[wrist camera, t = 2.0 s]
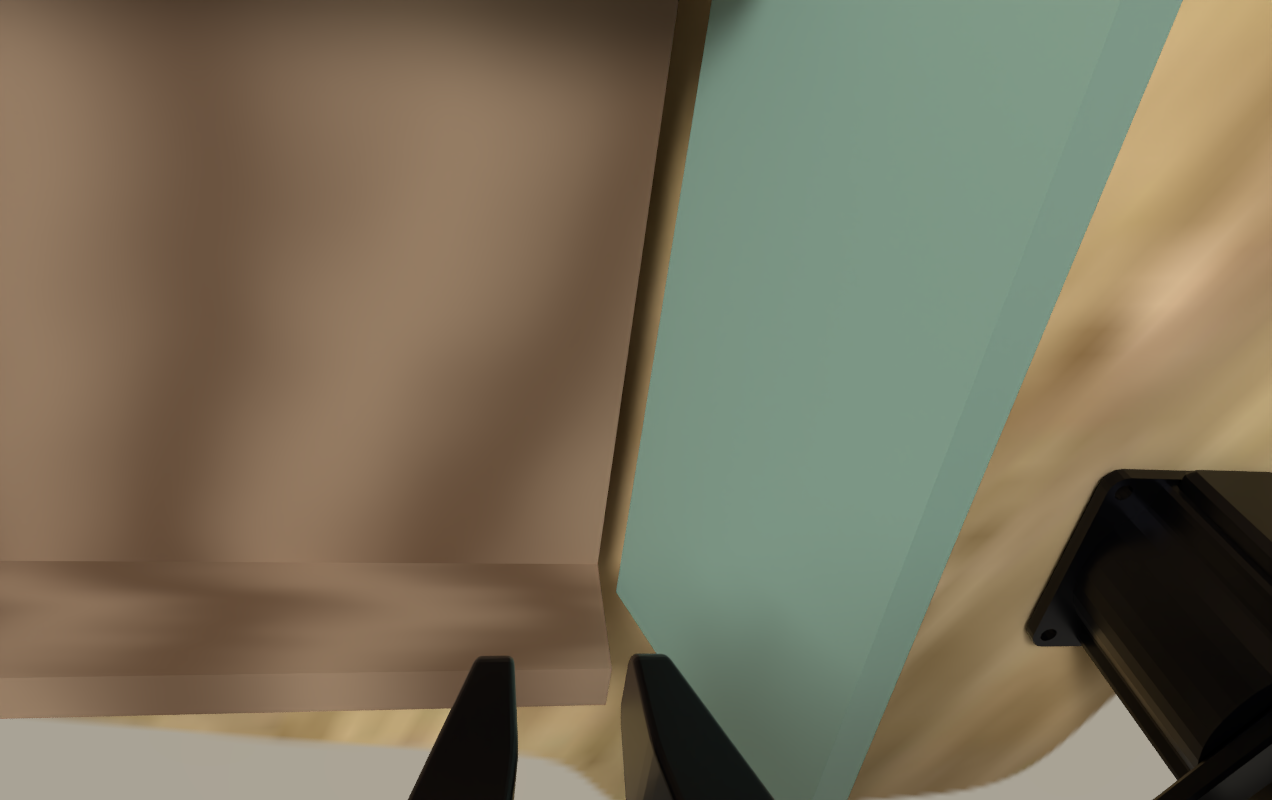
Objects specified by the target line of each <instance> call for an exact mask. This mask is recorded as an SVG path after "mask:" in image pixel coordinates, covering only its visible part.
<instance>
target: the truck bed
mask: <svg viewBox="0 0 1272 800" xmlns="http://www.w3.org/2000/svg"><path fill="white" fill-rule="evenodd" d="M678 2H679V0H0V719H7V718H50V717H93V716H137V715H180V714H223V713H267V712H310V711H353V710H397V709H440V708H452V706H453V704H454V702H455V700H456V698H457V696H458V694H459V691H460V689H461V687H462V685H463V683H464V681H465V679H466V677H467V675H468V673H469V670H470V668H471V666H472V664H473V662H474V661H475V660H476V658H478V657H479V656H505V655H507V656H510V657H512V658H513V660H514V664H515V684H516V707H527V706H570V705H606V701H607V695H608V689H609V683H610V677H611V671H612V665H611V658H610V651H609V644H608V636H607V629H606V622H605V615H604V607H603V600H602V593H601V586H600V578H599V571H598V558H599V551H600V544H601V537H602V530H603V523H604V516H605V509H606V502H607V495H608V488H609V481H610V474H611V467H612V460H613V453H614V446H615V439H616V432H617V426H618V419H619V412H620V405H621V398H622V391H623V384H624V377H625V370H626V363H627V356H628V349H629V342H630V335H631V328H632V321H633V314H634V307H635V300H636V293H637V287H638V280H639V273H640V266H641V259H642V252H643V245H644V238H645V231H646V224H647V217H648V210H649V203H650V196H651V189H652V182H653V175H654V168H655V161H656V154H657V148H658V141H659V134H660V127H661V120H662V113H663V106H664V99H665V92H666V85H667V78H668V71H669V64H670V57H671V50H672V43H673V36H674V29H675V22H676V16H677V9H678Z"/></svg>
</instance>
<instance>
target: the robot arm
mask: <svg viewBox="0 0 1272 800" xmlns="http://www.w3.org/2000/svg"><path fill="white" fill-rule="evenodd" d="M1026 631H1027V634H1028V635H1029V637H1030V638H1031V640H1032V641H1033V643H1034V644H1036V645H1037V646H1083V648H1084V649H1085V651H1086V652H1087V653H1088V655H1089V656H1090V658H1091V659H1092V661H1093V662H1094V663H1095V665H1096V666H1097V668H1098V669H1099V670H1100V672H1101V673H1102V675H1103V676H1104V677H1105V679H1106V680H1107V682H1108V683H1109V685H1110V686H1111V687H1112V689H1113V690H1114V692H1115V693H1116V694H1117V696H1118V697H1119V699H1120V700H1121V701H1122V703H1123V704H1124V705H1125V707H1126V708H1127V710H1128V711H1129V713H1130V714H1131V716H1132V717H1133V718H1134V720H1135V721H1136V723H1137V724H1138V725H1139V727H1140V728H1141V730H1142V731H1143V733H1144V734H1145V735H1146V737H1147V738H1148V740H1149V741H1150V742H1151V744H1152V745H1153V746H1154V748H1155V749H1156V751H1157V752H1158V753H1159V755H1160V756H1161V758H1162V759H1163V761H1164V762H1165V764H1166V765H1167V766H1168V768H1169V769H1170V771H1171V772H1172V773H1173V775H1174V776H1175V778H1176V779H1177V781H1176V782H1175V783H1174V784H1173V785H1171V786H1170V787H1169V788H1167V789H1166V790H1165V791H1163V792H1162V793H1161V794H1160V795H1158V796H1157V797H1156V798H1155V799H1153V800H1272V473H1271V472H1246V471H1211V470H1196V471H1172V470H1136V469H1121V470H1115V471H1113V472H1111V473H1109V474H1108V475H1106V476H1105V477H1104V478H1103V479H1102V480H1101V482H1100V483H1099V485H1098V487H1097V489H1096V491H1095V493H1094V495H1093V497H1092V499H1091V501H1090V503H1089V505H1088V507H1087V509H1086V510H1085V512H1084V514H1083V516H1082V518H1081V520H1080V522H1079V524H1078V526H1077V528H1076V530H1075V532H1074V534H1073V536H1072V538H1071V540H1070V542H1069V544H1068V546H1067V548H1066V550H1065V552H1064V554H1063V556H1062V558H1061V560H1060V562H1059V564H1058V566H1057V568H1056V570H1055V571H1054V573H1053V575H1052V577H1051V579H1050V581H1049V583H1048V585H1047V587H1046V589H1045V591H1044V593H1043V595H1042V597H1041V599H1040V601H1039V603H1038V605H1037V607H1036V609H1035V611H1034V613H1033V615H1032V617H1031V619H1030V621H1029V623H1028V625H1027V628H1026ZM621 732H622V747H623V762H624V776H625V791H626V800H775V799H774V798H773V797H772V795H771V794H770V793H769V791H768V790H767V788H766V787H765V786H764V784H763V783H762V782H761V780H760V779H759V778H758V776H757V775H756V774H755V772H754V771H753V770H752V768H751V767H750V765H749V764H748V763H747V761H746V760H745V759H744V757H743V756H742V755H741V753H740V752H739V751H738V749H737V748H736V747H735V745H734V744H733V742H732V741H731V740H730V738H729V737H728V736H727V734H726V733H725V732H724V730H723V729H722V728H721V726H720V725H719V724H718V722H717V721H716V719H715V718H714V717H713V715H712V714H711V713H710V711H709V710H708V709H707V707H706V706H705V705H704V703H703V702H702V701H701V699H700V698H699V696H698V695H697V694H696V692H695V691H694V690H693V688H692V687H691V686H690V684H689V683H688V682H687V680H686V679H685V678H684V676H683V675H682V673H681V672H680V671H679V669H678V668H677V667H676V665H675V664H674V663H673V661H672V660H671V659H670V658H669V657H668V656H667V655H665V654H635V655H633V656H632V657H631V658H630V660H629V664H628V669H627V674H626V680H625V685H624V691H623V696H622V702H621ZM517 761H518V730H517V707H516V684H515V664H514V660H513V658H512V657H510V656H507V655H505V656H479V657H478V658H476V660H475V661H474V662H473V664H472V666H471V668H470V670H469V673H468V675H467V677H466V679H465V681H464V683H463V685H462V687H461V689H460V691H459V694H458V696H457V698H456V700H455V702H454V704H453V706H452V708H451V710H450V712H449V715H448V717H447V719H446V721H445V723H444V725H443V727H442V729H441V731H440V733H439V736H438V738H437V740H436V742H435V744H434V746H433V748H432V750H431V752H430V754H429V757H428V759H427V761H426V763H425V765H424V767H423V769H422V772H421V774H420V775H419V778H418V780H417V782H416V784H415V786H414V788H413V790H412V792H411V794H410V796H409V799H408V800H514V793H515V782H516V772H517Z"/></svg>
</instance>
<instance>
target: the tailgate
mask: <svg viewBox="0 0 1272 800" xmlns="http://www.w3.org/2000/svg"><path fill="white" fill-rule="evenodd" d="M1182 1H1183V0H712V3H711V9H710V15H709V21H708V28H707V34H706V40H705V46H704V52H703V58H702V65H701V71H700V77H699V83H698V89H697V95H696V102H695V108H694V114H693V120H692V126H691V133H690V139H689V145H688V151H687V157H686V163H685V170H684V176H683V182H682V188H681V194H680V200H679V207H678V213H677V219H676V225H675V231H674V237H673V244H672V250H671V256H670V262H669V268H668V274H667V281H666V287H665V293H664V299H663V305H662V311H661V318H660V324H659V330H658V336H657V342H656V348H655V355H654V361H653V367H652V373H651V379H650V385H649V392H648V398H647V404H646V410H645V416H644V422H643V429H642V435H641V441H640V447H639V453H638V460H637V466H636V472H635V478H634V484H633V490H632V497H631V503H630V509H629V515H628V521H627V527H626V534H625V540H624V546H623V552H622V558H621V564H620V571H619V577H618V583H617V589H616V593H617V594H618V596H619V597H620V599H621V600H622V602H623V603H624V605H625V606H626V608H627V609H628V611H629V612H630V614H631V615H632V617H633V619H634V620H635V622H636V623H637V625H638V626H639V628H640V629H641V631H642V632H643V634H644V635H645V637H646V638H647V640H648V641H649V643H650V644H651V646H652V647H653V649H654V651H655V652H656V654H665V655H667V656H668V657H669V658H670V659H671V660H672V661H673V663H674V664H675V665H676V667H677V668H678V669H679V671H680V672H681V673H682V675H683V676H684V678H685V679H686V680H687V682H688V683H689V684H690V686H691V687H692V688H693V690H694V691H695V692H696V694H697V695H698V696H699V698H700V699H701V701H702V702H703V703H704V705H705V706H706V707H707V709H708V710H709V711H710V713H711V714H712V715H713V717H714V718H715V719H716V721H717V722H718V724H719V725H720V726H721V728H722V729H723V730H724V732H725V733H726V734H727V736H728V737H729V738H730V740H731V741H732V742H733V744H734V745H735V747H736V748H737V749H738V751H739V752H740V753H741V755H742V756H743V757H744V759H745V760H746V761H747V763H748V764H749V765H750V767H751V768H752V770H753V771H754V772H755V774H756V775H757V776H758V778H759V779H760V780H761V782H762V783H763V784H764V786H765V787H766V788H767V790H768V791H769V793H770V794H771V795H772V797H773V798H774V799H775V800H847V799H848V797H849V794H850V792H851V790H852V787H853V785H854V782H855V780H856V778H857V775H858V773H859V771H860V768H861V766H862V763H863V761H864V759H865V756H866V754H867V751H868V749H869V747H870V744H871V742H872V740H873V737H874V735H875V732H876V730H877V728H878V725H879V723H880V720H881V718H882V716H883V713H884V711H885V709H886V706H887V704H888V701H889V699H890V697H891V694H892V692H893V690H894V687H895V685H896V682H897V680H898V678H899V675H900V673H901V670H902V668H903V666H904V663H905V661H906V659H907V656H908V654H909V651H910V649H911V647H912V644H913V642H914V639H915V637H916V635H917V632H918V630H919V628H920V625H921V623H922V620H923V618H924V616H925V613H926V611H927V608H928V606H929V604H930V601H931V599H932V597H933V594H934V592H935V589H936V587H937V585H938V582H939V580H940V578H941V575H942V573H943V570H944V568H945V566H946V563H947V561H948V558H949V556H950V554H951V551H952V549H953V547H954V544H955V542H956V539H957V537H958V535H959V532H960V530H961V527H962V525H963V523H964V520H965V518H966V516H967V513H968V511H969V508H970V506H971V504H972V501H973V499H974V496H975V494H976V492H977V489H978V487H979V485H980V482H981V480H982V477H983V475H984V473H985V470H986V468H987V465H988V463H989V461H990V458H991V456H992V454H993V451H994V449H995V446H996V444H997V442H998V439H999V437H1000V435H1001V432H1002V430H1003V427H1004V425H1005V423H1006V420H1007V418H1008V415H1009V413H1010V411H1011V408H1012V406H1013V404H1014V401H1015V399H1016V396H1017V394H1018V392H1019V389H1020V387H1021V384H1022V382H1023V380H1024V377H1025V375H1026V373H1027V370H1028V368H1029V365H1030V363H1031V361H1032V358H1033V356H1034V353H1035V351H1036V349H1037V346H1038V344H1039V342H1040V339H1041V337H1042V334H1043V332H1044V330H1045V327H1046V325H1047V323H1048V320H1049V318H1050V315H1051V313H1052V311H1053V308H1054V306H1055V303H1056V301H1057V299H1058V296H1059V294H1060V292H1061V289H1062V287H1063V284H1064V282H1065V280H1066V277H1067V275H1068V272H1069V270H1070V268H1071V265H1072V263H1073V261H1074V258H1075V256H1076V253H1077V251H1078V249H1079V246H1080V244H1081V241H1082V239H1083V237H1084V234H1085V232H1086V230H1087V227H1088V225H1089V222H1090V220H1091V218H1092V215H1093V213H1094V210H1095V208H1096V206H1097V203H1098V201H1099V199H1100V196H1101V194H1102V191H1103V189H1104V187H1105V184H1106V182H1107V180H1108V177H1109V175H1110V172H1111V170H1112V168H1113V165H1114V163H1115V160H1116V158H1117V156H1118V153H1119V151H1120V149H1121V146H1122V144H1123V141H1124V139H1125V137H1126V134H1127V132H1128V129H1129V127H1130V125H1131V122H1132V120H1133V118H1134V115H1135V113H1136V110H1137V108H1138V106H1139V103H1140V101H1141V98H1142V96H1143V94H1144V91H1145V89H1146V87H1147V84H1148V82H1149V79H1150V77H1151V75H1152V72H1153V70H1154V67H1155V65H1156V63H1157V60H1158V58H1159V56H1160V53H1161V51H1162V48H1163V46H1164V44H1165V41H1166V39H1167V37H1168V34H1169V32H1170V29H1171V27H1172V25H1173V22H1174V20H1175V17H1176V15H1177V13H1178V10H1179V8H1180V6H1181V3H1182Z"/></svg>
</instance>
